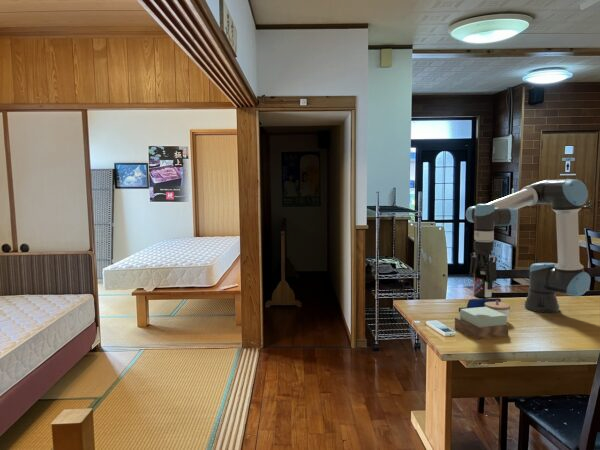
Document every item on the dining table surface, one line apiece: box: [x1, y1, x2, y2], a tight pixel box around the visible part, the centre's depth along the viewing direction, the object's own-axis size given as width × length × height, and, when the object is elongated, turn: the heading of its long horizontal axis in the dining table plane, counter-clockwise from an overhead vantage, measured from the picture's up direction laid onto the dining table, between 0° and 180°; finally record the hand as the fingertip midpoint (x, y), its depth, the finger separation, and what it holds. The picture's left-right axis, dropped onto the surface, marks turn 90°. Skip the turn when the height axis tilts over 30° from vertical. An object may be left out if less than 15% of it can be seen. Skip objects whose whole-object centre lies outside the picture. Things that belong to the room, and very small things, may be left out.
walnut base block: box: [454, 316, 510, 340], centre depth 183 cm, size 15×15×5 cm
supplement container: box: [473, 270, 491, 299], centre depth 181 cm, size 7×7×10 cm
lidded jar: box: [484, 301, 511, 319], centre depth 196 cm, size 11×11×9 cm
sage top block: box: [459, 307, 508, 328], centre depth 182 cm, size 13×13×4 cm
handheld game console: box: [458, 297, 502, 312], centre depth 207 cm, size 16×13×9 cm
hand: (482, 294), depth 181 cm, fingers closed on supplement container, 7 cm apart
